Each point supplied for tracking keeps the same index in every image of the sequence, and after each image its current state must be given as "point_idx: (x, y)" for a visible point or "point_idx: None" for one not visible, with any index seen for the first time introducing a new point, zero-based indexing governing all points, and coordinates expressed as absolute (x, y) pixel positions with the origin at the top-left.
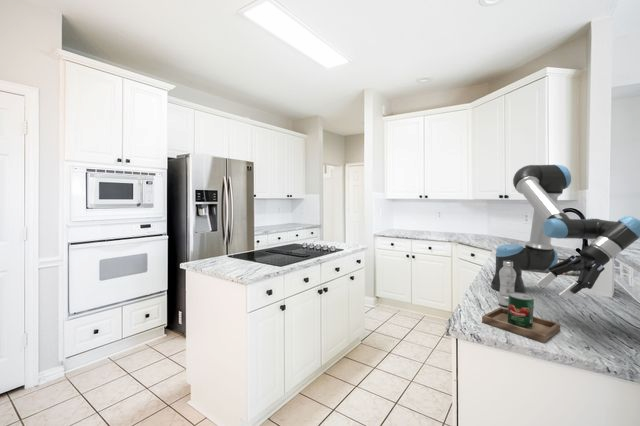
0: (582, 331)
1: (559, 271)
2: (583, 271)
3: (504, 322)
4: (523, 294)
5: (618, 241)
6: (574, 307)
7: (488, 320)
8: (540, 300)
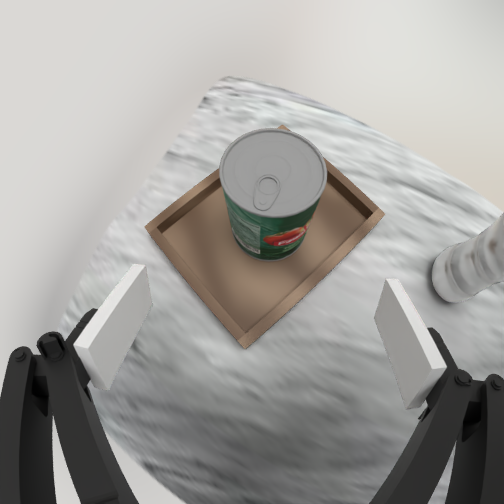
0: (248, 423)
1: (418, 434)
2: (71, 473)
3: None
4: (310, 196)
5: None
6: (444, 494)
7: None
8: None
